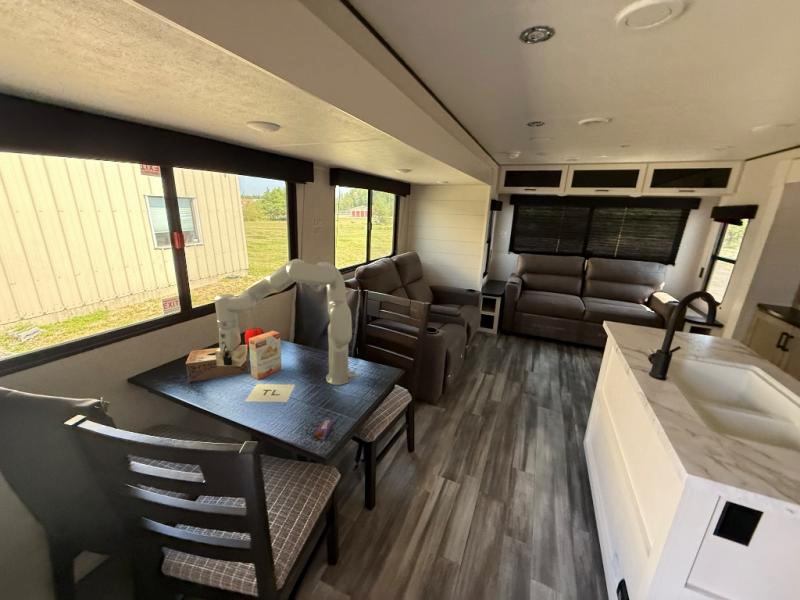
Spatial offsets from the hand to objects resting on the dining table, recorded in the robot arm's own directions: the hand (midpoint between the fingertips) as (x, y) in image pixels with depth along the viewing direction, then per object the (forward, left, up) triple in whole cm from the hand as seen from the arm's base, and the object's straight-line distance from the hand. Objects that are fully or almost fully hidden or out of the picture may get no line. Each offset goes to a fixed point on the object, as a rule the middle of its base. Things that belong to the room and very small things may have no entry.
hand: (231, 361), depth 135 cm
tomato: (+9, -48, -16) cm, 51 cm away
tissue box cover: (+16, -20, -16) cm, 30 cm away
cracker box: (-8, -18, -16) cm, 25 cm away
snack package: (-44, +25, -17) cm, 54 cm away
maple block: (0, 0, -1) cm, 1 cm away
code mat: (-16, 0, -16) cm, 23 cm away
